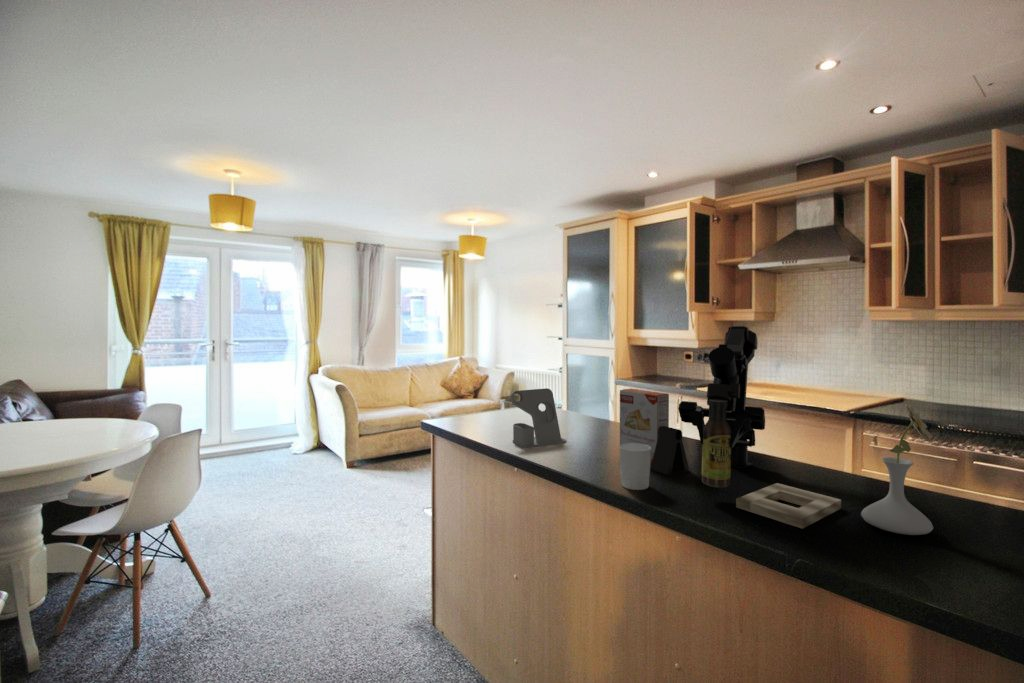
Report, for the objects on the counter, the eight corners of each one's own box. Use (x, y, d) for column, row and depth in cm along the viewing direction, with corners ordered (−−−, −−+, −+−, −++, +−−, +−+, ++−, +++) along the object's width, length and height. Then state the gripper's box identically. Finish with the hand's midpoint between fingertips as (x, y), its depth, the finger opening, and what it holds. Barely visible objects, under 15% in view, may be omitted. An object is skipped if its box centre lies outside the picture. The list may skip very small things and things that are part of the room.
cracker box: (618, 456, 151) (618, 389, 150) (631, 453, 155) (631, 387, 154) (656, 467, 140) (656, 394, 139) (669, 463, 144) (669, 392, 143)
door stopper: (666, 475, 133) (667, 431, 132) (650, 470, 138) (650, 427, 137) (689, 470, 137) (689, 428, 137) (672, 465, 142) (672, 424, 142)
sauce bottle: (709, 489, 111) (709, 402, 110) (696, 480, 117) (696, 397, 116) (736, 488, 111) (736, 401, 111) (722, 479, 118) (723, 397, 117)
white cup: (645, 493, 119) (645, 452, 119) (614, 487, 123) (614, 448, 123) (654, 484, 126) (655, 445, 125) (625, 479, 130) (625, 441, 130)
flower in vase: (911, 545, 91) (915, 411, 90) (848, 522, 101) (850, 402, 100) (950, 533, 96) (954, 406, 95) (886, 512, 106) (889, 398, 105)
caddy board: (776, 491, 120) (776, 482, 120) (840, 508, 109) (841, 499, 109) (736, 507, 110) (736, 498, 110) (802, 528, 98) (802, 518, 98)
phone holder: (523, 448, 162) (523, 394, 161) (509, 441, 171) (509, 390, 170) (567, 442, 170) (567, 390, 169) (552, 436, 179) (552, 387, 178)
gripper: (680, 368, 121) (668, 421, 112) (764, 372, 111) (759, 430, 103) (687, 395, 128) (676, 447, 119) (767, 401, 118) (762, 457, 110)
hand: (716, 445), depth 113 cm, fingers closed on sauce bottle, 6 cm apart
